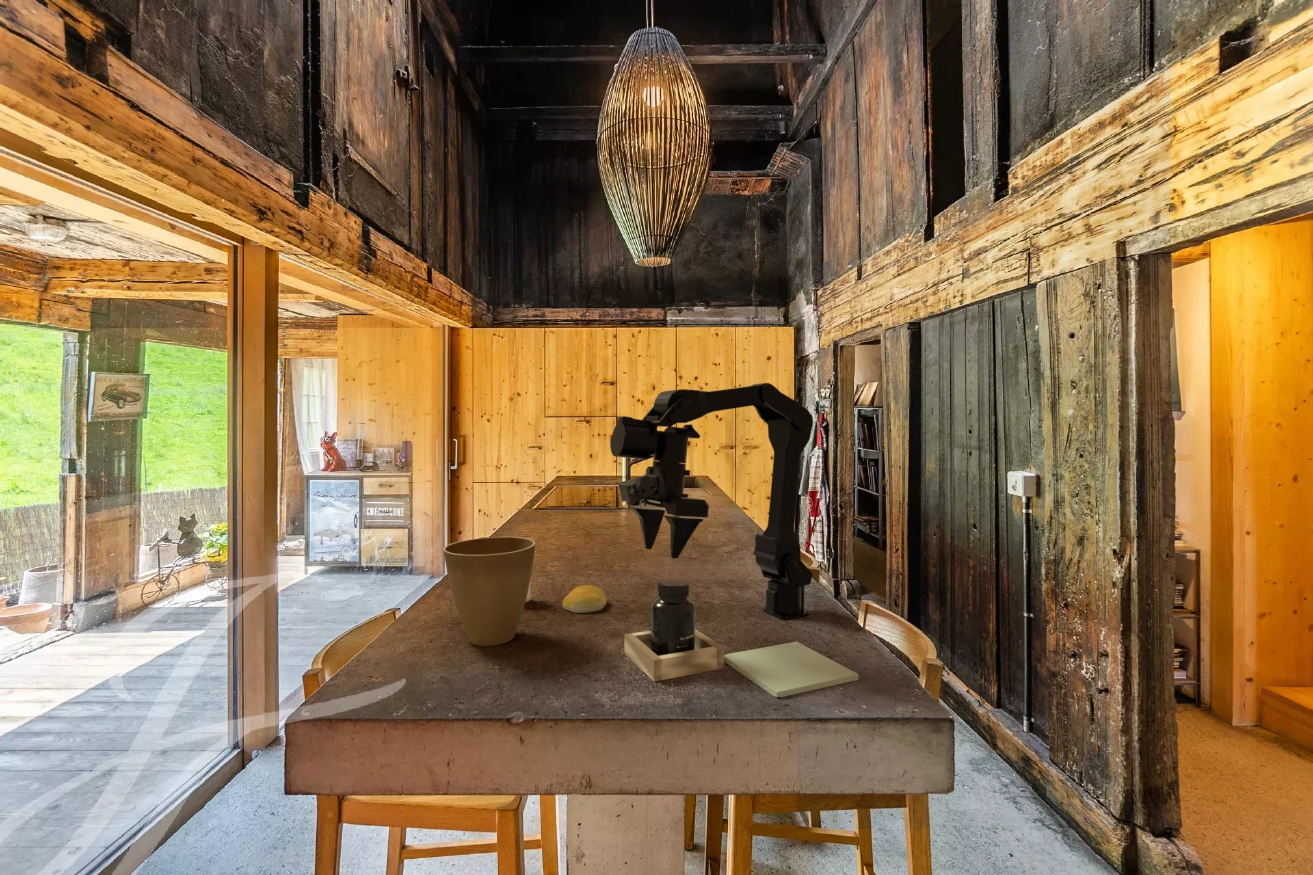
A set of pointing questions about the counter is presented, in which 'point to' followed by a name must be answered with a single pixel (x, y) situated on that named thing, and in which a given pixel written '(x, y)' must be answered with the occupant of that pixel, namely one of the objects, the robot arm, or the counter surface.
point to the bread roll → (585, 599)
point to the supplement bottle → (672, 619)
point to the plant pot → (490, 585)
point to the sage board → (789, 669)
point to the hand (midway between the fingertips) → (660, 553)
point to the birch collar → (674, 657)
